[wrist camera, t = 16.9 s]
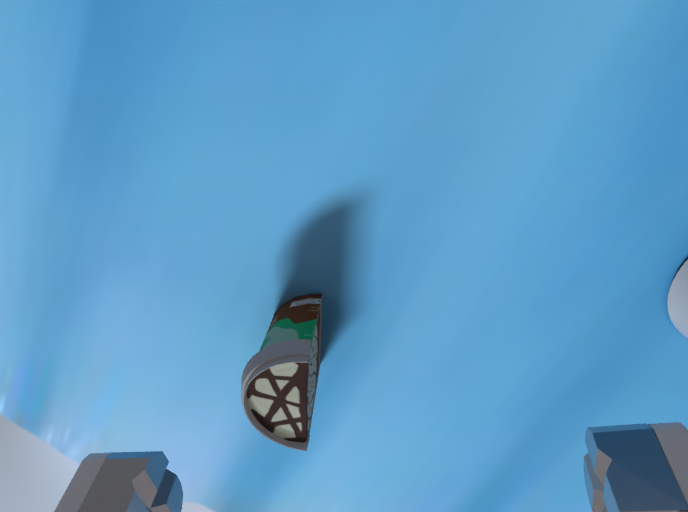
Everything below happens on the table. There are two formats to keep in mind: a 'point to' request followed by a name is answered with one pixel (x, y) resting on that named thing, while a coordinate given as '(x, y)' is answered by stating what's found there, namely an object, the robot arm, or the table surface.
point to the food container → (286, 374)
